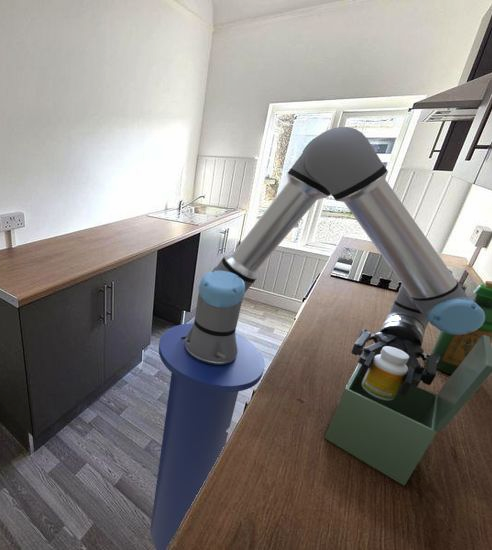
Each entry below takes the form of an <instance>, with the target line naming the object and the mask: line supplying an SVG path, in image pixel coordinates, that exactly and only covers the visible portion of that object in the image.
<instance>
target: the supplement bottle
mask: <svg viewBox="0 0 492 550" xmlns="http://www.w3.org/2000/svg"><path fill="white" fill-rule="evenodd" d="M408 359H409V355H408V354H407V353H405V352H404V351H402V350H400V349H397V348H394V347H390V346H384V347H383V348H382V350H381V353H380V354H379V355H376V356H374V357H373V359H372V361H371V364H370V366H369V368H368V370H367V372H366V374H365V377H364V379H363V381H362V387H363V388H364V390H365V391H366V392H368V393H369V394H370V395H372V396H374V397H376V398H379V399H382V400H388V401H389V400H393V399H394V398H395V396H396V394H397V392H398V390H399V388H400V386H401V384H402V382H403V380H404V378H405V376H406V375H407V372H408V367H407V366H406V365H405V364H406V363H407V361H408Z"/></svg>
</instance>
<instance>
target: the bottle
mask: <svg viewBox="0 0 492 550" xmlns="http://www.w3.org/2000/svg"><path fill="white" fill-rule="evenodd" d="M472 292H473V294H474V296H473V298H472V300H473V301H475V302H476V303H477V304H478V306H479V307H480V308H482V310H483V311H484V313H485V321H484V323H483V325H482V326H481V327H480V328H479V329H477V330H475V331H473V332H470V333H467V334H462V335H454V334H448V333H445V332H442V331H440V330H439V333H438V336H437V338H436V341H435V343H434V346H433V348H432V350H431V353H430V354H431V355H432V354H437V355H439V356H440V357H441V358H440V359H439V361H438V363H437V365H436V370H438V371H441V372H443V373H445V374H448V375H450V376H451V375H452V374H453V373H454V371H455V370H456V369H457V368H458V366H459V365H460V364H461V362H462V361H463V360H464V359H465V357H466V356H467V355H468V353H469V352H470V351H471V349H472V348H473V347H474V346H475V344H476V343H477V342H478V340H479V339H480V338H481V337H482V335H486V336H488V337H490V342H491V344H492V280H491V281H490V280H485V282H484V283H483V284H479V285H478V286H477V287H476V288H475V289H474V290H473V291H472Z"/></svg>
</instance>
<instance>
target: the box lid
mask: <svg viewBox="0 0 492 550" xmlns="http://www.w3.org/2000/svg"><path fill="white" fill-rule="evenodd" d="M491 374H492V343H491V342H490V337H488V336H486V335H482V337H481V338H480V339H479V340H478V342H477V343H476V344H475V346H474V347H473V348H472V349H471V351H470V352H469V353H468V355H467V356H466V357H465V359H464V360H463V361H462V362H461V364H460V365H459V366H458V368H457V369H456V370H455V371H454V373H453V374H452V375H451V374H450V376H449V378H448V379H447V380H446V382H445V383H444V384H443V385H442V387H441V388H440V389H439V390H438V393H437V394H438V402H437V412H436V421H435V429H436V430H437V431H438V432H439V433H442V432H443V431H444V430H445V428H446V427H447V426H448V425H449V424H450V423H451V422H452V420H454V418H455V417H456V416H457V415H458V413H459V412H460V411H461V410H462V408H463V407H464V406H465V405H466V404H467V403H468V402H469V400H470V399H471V398H472V397H473V396H474V394H475V393H476V392H477V391H478V390H479V388H480V387H481V386H482V385H483V384H484V383H485V381H486V380H487V379H488V378H489V377H490V375H491Z"/></svg>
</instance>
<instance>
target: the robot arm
mask: <svg viewBox="0 0 492 550" xmlns="http://www.w3.org/2000/svg"><path fill="white" fill-rule="evenodd" d="M388 173H389V170H388V169H387V168H386V166H385V164H384V163H383V162H382V160H381V159H380V157H379V156H378V154H377V152H376V150H375V149H374V147H373V146H372V144H371V142H370V141H369V139H368V138H367V137H366V135H365V134H364V133H363V132H361V131H360V130H358V129H357V128H354V127H350V126H337V127H333V128H330V129H327V130H325V131H323V132H321V133H320V134H318V135H317V136H315V137H314V138H312V139H311V140H310V141H309V142H308V143H307V144H306V146H305V147H304V148H303V150H302V153H301V154H300V155H299V157H298V158H297V159H296V160H295V162H294V163H293V164H292V166H291V168H290V169H289V170H288V171H287V173H286V179H287V180H286V184H285V185H284V187H283V188H282V189H281V190H280V192H279V193H278V194H277V196H276V197H275V198H274V199H273V200H272V201H271V204H270V205H269V206H268V207H267V208H266V209H265V211H264V213H263V214H262V215H261V216H260V218H259V219H258V220H257V221H256V222H255V224H254V225H253V227H252V228H251V229H250V231H248V233H247V235H246V236H245V237H244V238H243V240H242V241H241V242H240V244H239V245H238V246H237V247H236V249H235V250H234V251H233V253H227V254H224V256H223V258H222V259H221V260H220V262H219V263H218V264H217V266H215V267H214V268H213V269H212V270H211V271H208V272H207V273H205V274H203V275H202V277H201V279H200V282H199V285H198V293H197V294H198V295H197V301H196V307H195V314H194V320H193V323H194V324H193V326H192V327H191V329H190V331H189V333H188V334H187V336H185V337H181V339H185V343H184V348H185V350H186V352H187V353H188V354H189V355H190V356H191V357H192V358H193V359H195V360H197V361H199V362H201V363H203V364H207V365H211V366H226V365H229V364H232V363H233V362H234V361H235V360H236V358H237V353H238V348H237V342H236V335H235V333H236V330H237V325H238V321H239V318H240V314H241V313H240V312H241V308H242V305H243V300H244V297H245V294H246V292H247V291H248V290H249V289H250V288H251V286H252V285H253V284H254V283H255V282H256V280H257V279H258V278H259V273H258V270H259V269H260V268H261V267H262V265H263V264H264V263H265V262H266V261H267V259H268V258H269V257H270V256H271V255H272V254H273V252H274V251H275V250H276V249H277V247H279V245H280V244H282V242H283V241H284V239H286V237H287V236H288V235H289V234H290V233H291V231H292V230H293V229H294V228H295V227H296V225H297V224H298V223H300V221H301V220H302V219H303V217H304V216H305V215H306V213H308V211H309V210H310V209H311V208H312V207H313V205H314V204H315V203H316V202H317V201H319V200H322V199H326V198H328V197H330V195H331V196H332V198H334V200H335V201H336V202H341V203H344V204H345V206H346V207H347V209H348V210H349V212H350V213H351V215H352V216H353V217H354V219H355V220H356V222H357V223H358V224H359V225H360V227H361V229H362V230H363V231H364V232H365V234H366V235H367V237H368V238H369V240H370V241H371V242H372V244H373V245H374V247H375V248H376V250H377V251H378V252H379V254H380V255H381V256H382V258H383V259H384V261H385V262H386V264H387V265H388V266H389V267H390V269H391V270H392V272H393V273H394V275H395V276H396V277H397V279H398V280H399V282H400V283H401V284H400V287H399V289H398V292H397V293H396V296H395V299H394V300H393V303H392V305H391V307H390V310H389V312H388V313H387V315H386V318H385V320H384V322H383V324H382V326H381V327H380V330H379V332H376V333H375V334H374V333H372V332H370V331H369V330H368V329H367V328H361V330H360V332H359V335H358V337H357V340H356V341H355V342H354V344H353V347H352V349H351V351H350V353H351V354H352V355H354V356H359V358H358V359H357V364H362V365H364V366H363V368H362V370H361V373H360V375H359V376H362V377H364V376H365V374H366V372H367V370H368V368H369V366H370V364H371V361H372V359H373V357H374V356H376V355H379V354H380V353H381V350H382V348H383V347H384V346H390V347H394V348H397V349H400V350H402V351H404V352H405V353H407V354H408V355H409V359H408V361H407V363H406V364H405V365H406V366H407V367H408V372H407V375H406V376H405V378H404V380H403V383H402V387H401V390H400V394H402V395H404V396H405V395H406V393H407V391H408V389H409V387H410V385H411V386H413V387H417V386H419V385H420V383H421V382H422V383H423V384H425V385H426V386H431V385H432V384H433V381H434V380H435V378H436V376H437V368H436V365H437V363H438V361H439V359H440V358H441V357H440V356H439V355H437V354H432V355H431V353H426V352H425V350H424V348H423V347H422V346H423V342H424V338H425V332H426V329H427V327H428V325H429V324H430V325H431V326H433V327H435V328H436V329H437V330H439V332H440V331H442V332H445V333H448V334H454V335H462V334H467V333H470V332H473V331H475V330H477V329H479V328H480V327H481V326H482V325H483V323H484V321H485V313H484V311H483V310H482V308H480V307H479V306H478V304H477V303H476V302H475V301H473V299H471V298H470V297H469V296H468V295H467V293H466V291H465V290H464V289H463V287H462V286H461V285H460V284H459V282H458V281H457V279H456V278H455V276H454V275H453V271H452V270H451V269H449V268H448V267H447V265H446V263H445V262H444V261H443V259H442V258H441V256H440V255H439V254H438V252H437V251H436V249H435V248H434V246H433V244H431V242H430V240H429V239H428V238H427V236H426V235H425V233H424V232H423V231H422V229H421V228H420V226H419V225H418V224H417V222H416V221H415V219H414V218H413V217H412V215H411V214H410V213H409V211H408V209H407V208H406V207H405V205H404V204H403V202H402V200H400V198H399V197H398V196H397V194H396V192H395V190H394V189H393V188H392V187H391V185H390V184H389V182H388V181H387V176H388ZM369 341H373V343H372V344H371V345H370V344H369V345H368V346H366V344H367V343H369ZM420 358H421V360H422V364H423V366H422V365H421V364H420V362H419V360H418V359H420Z"/></svg>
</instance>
